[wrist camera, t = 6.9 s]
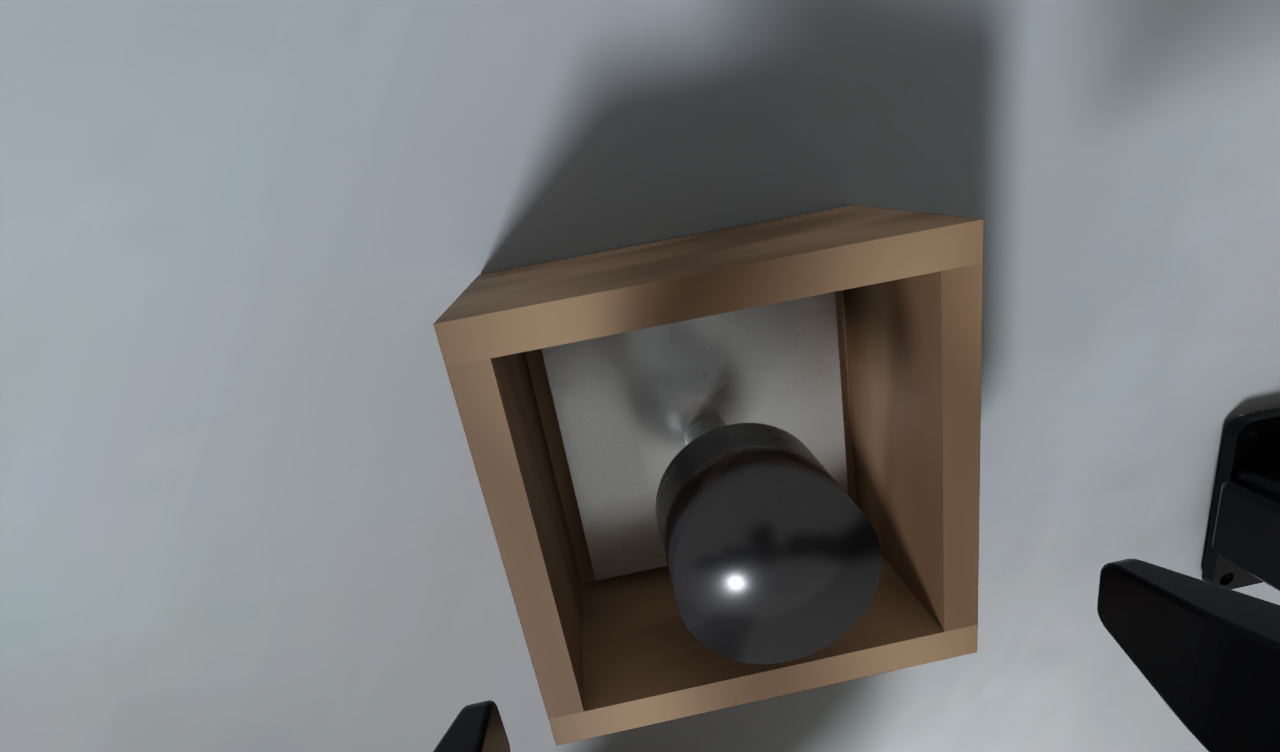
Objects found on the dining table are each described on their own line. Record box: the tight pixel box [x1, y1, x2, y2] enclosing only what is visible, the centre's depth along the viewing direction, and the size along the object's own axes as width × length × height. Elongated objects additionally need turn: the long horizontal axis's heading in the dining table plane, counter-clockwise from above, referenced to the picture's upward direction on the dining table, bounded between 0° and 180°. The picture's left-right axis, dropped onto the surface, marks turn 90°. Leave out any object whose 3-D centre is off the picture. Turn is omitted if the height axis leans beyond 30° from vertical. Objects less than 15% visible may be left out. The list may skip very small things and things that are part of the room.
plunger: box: [541, 292, 882, 664], centre depth 14 cm, size 7×7×7 cm
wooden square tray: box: [433, 205, 983, 746], centre depth 15 cm, size 10×10×6 cm
